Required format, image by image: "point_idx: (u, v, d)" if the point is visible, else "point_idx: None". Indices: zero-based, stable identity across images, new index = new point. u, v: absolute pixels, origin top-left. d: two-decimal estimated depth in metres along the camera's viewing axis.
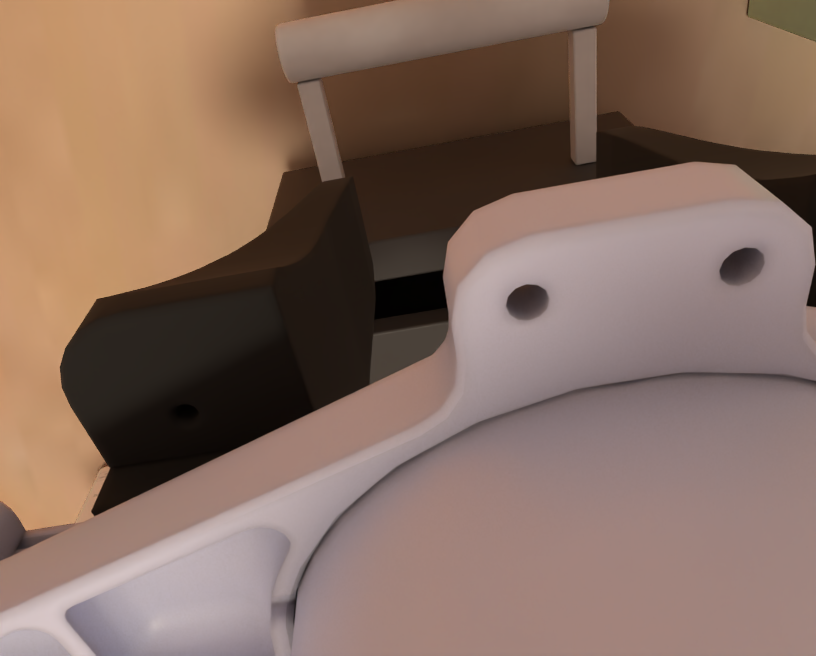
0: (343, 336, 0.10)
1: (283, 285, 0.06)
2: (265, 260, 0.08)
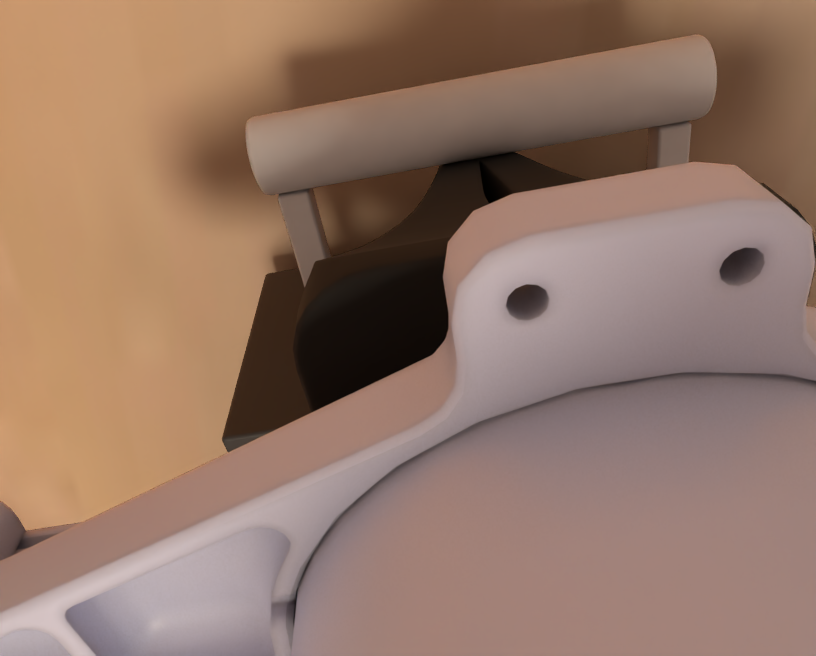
0: None
1: None
2: (457, 227, 0.08)
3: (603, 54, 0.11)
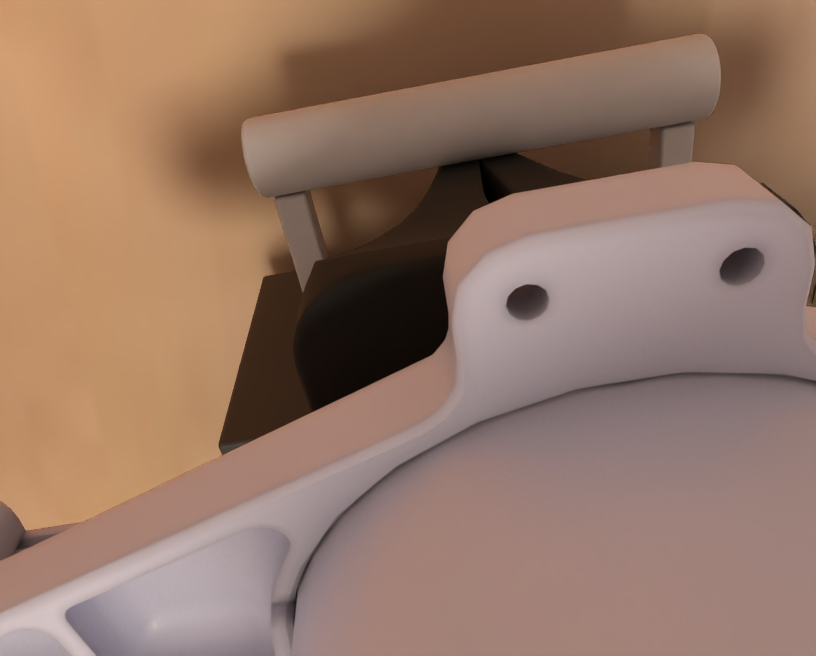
0: None
1: None
2: (457, 226, 0.08)
3: (605, 54, 0.11)
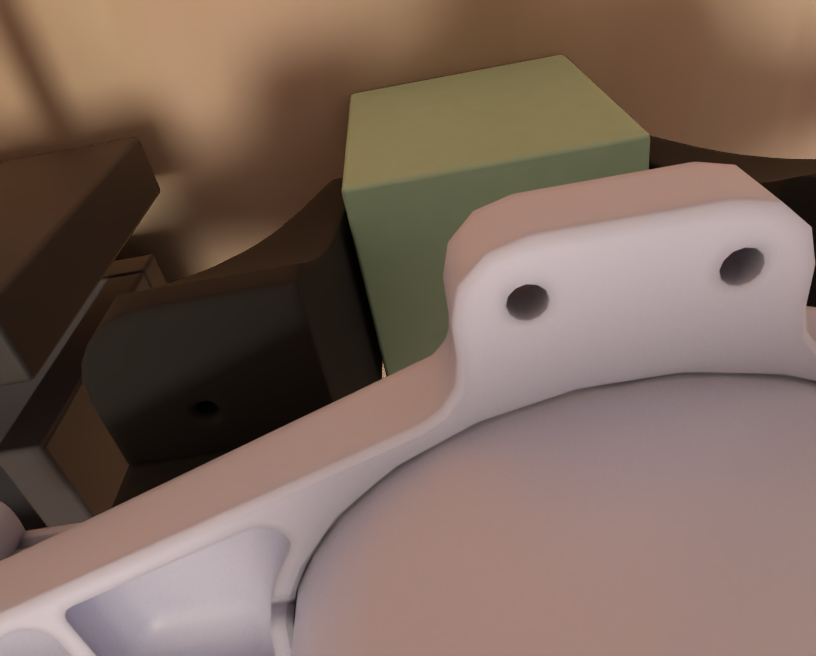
0: (357, 334, 0.10)
1: (304, 281, 0.06)
2: (282, 257, 0.08)
3: None
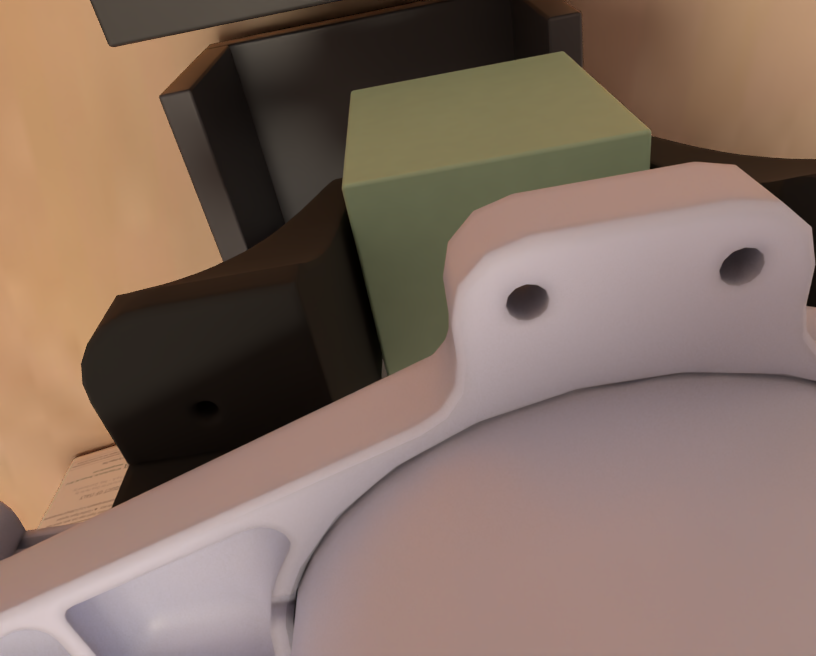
0: (357, 334, 0.10)
1: (304, 281, 0.06)
2: (282, 257, 0.08)
3: None
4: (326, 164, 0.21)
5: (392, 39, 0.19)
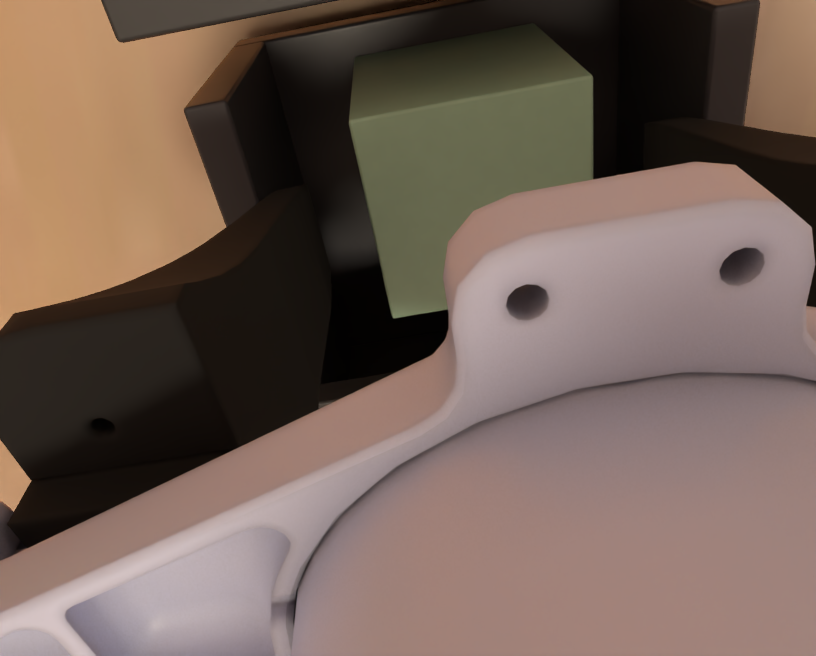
0: (282, 346, 0.10)
1: (193, 301, 0.06)
2: (193, 273, 0.08)
3: None
4: None
5: None
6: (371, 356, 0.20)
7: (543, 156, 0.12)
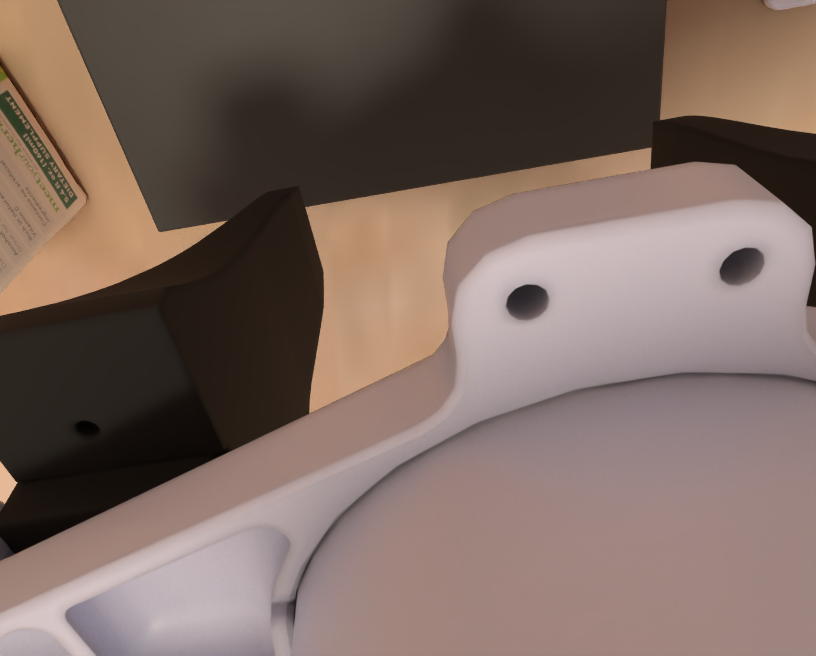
0: (271, 348, 0.10)
1: (177, 303, 0.06)
2: (180, 275, 0.08)
3: None
4: None
5: None
6: None
7: None
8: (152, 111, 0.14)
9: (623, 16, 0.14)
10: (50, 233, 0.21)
